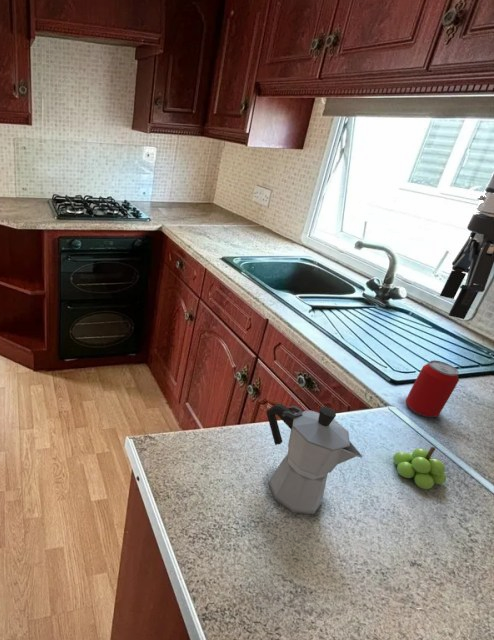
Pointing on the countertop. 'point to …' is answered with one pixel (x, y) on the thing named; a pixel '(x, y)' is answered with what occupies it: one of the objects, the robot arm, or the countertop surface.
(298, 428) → the coffee maker
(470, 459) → the countertop surface
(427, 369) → the beverage can
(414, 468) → the grape bunch
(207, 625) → the countertop surface
